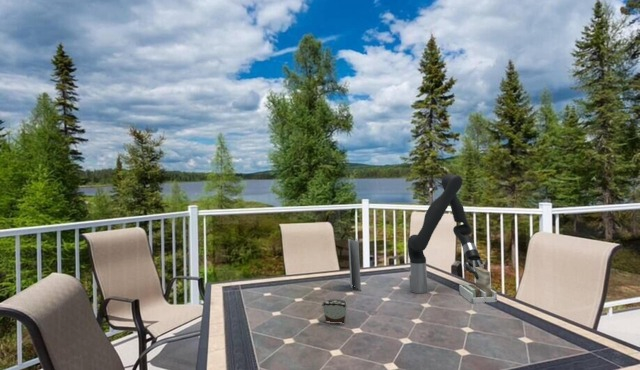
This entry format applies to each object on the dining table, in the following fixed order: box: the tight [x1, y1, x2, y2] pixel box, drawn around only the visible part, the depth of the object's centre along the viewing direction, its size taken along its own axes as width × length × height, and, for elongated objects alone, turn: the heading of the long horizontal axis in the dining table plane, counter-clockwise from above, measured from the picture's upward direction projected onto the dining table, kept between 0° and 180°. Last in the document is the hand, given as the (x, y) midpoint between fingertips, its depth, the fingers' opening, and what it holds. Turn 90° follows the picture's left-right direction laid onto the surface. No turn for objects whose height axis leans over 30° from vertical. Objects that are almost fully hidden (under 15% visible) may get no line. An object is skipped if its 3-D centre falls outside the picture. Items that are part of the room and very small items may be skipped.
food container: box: [321, 298, 348, 324], centre depth 177 cm, size 12×6×10 cm, turn 71°
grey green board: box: [474, 267, 492, 297], centre depth 202 cm, size 3×12×15 cm, turn 0°
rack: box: [458, 283, 498, 304], centre depth 202 cm, size 13×17×5 cm
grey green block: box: [468, 284, 480, 298], centre depth 202 cm, size 2×10×6 cm, turn 0°
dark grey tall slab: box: [347, 238, 362, 291], centre depth 233 cm, size 14×6×30 cm, turn 179°
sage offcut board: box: [463, 284, 476, 298], centre depth 202 cm, size 2×10×6 cm, turn 0°
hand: (481, 278), depth 204 cm, fingers closed on grey green board, 3 cm apart
